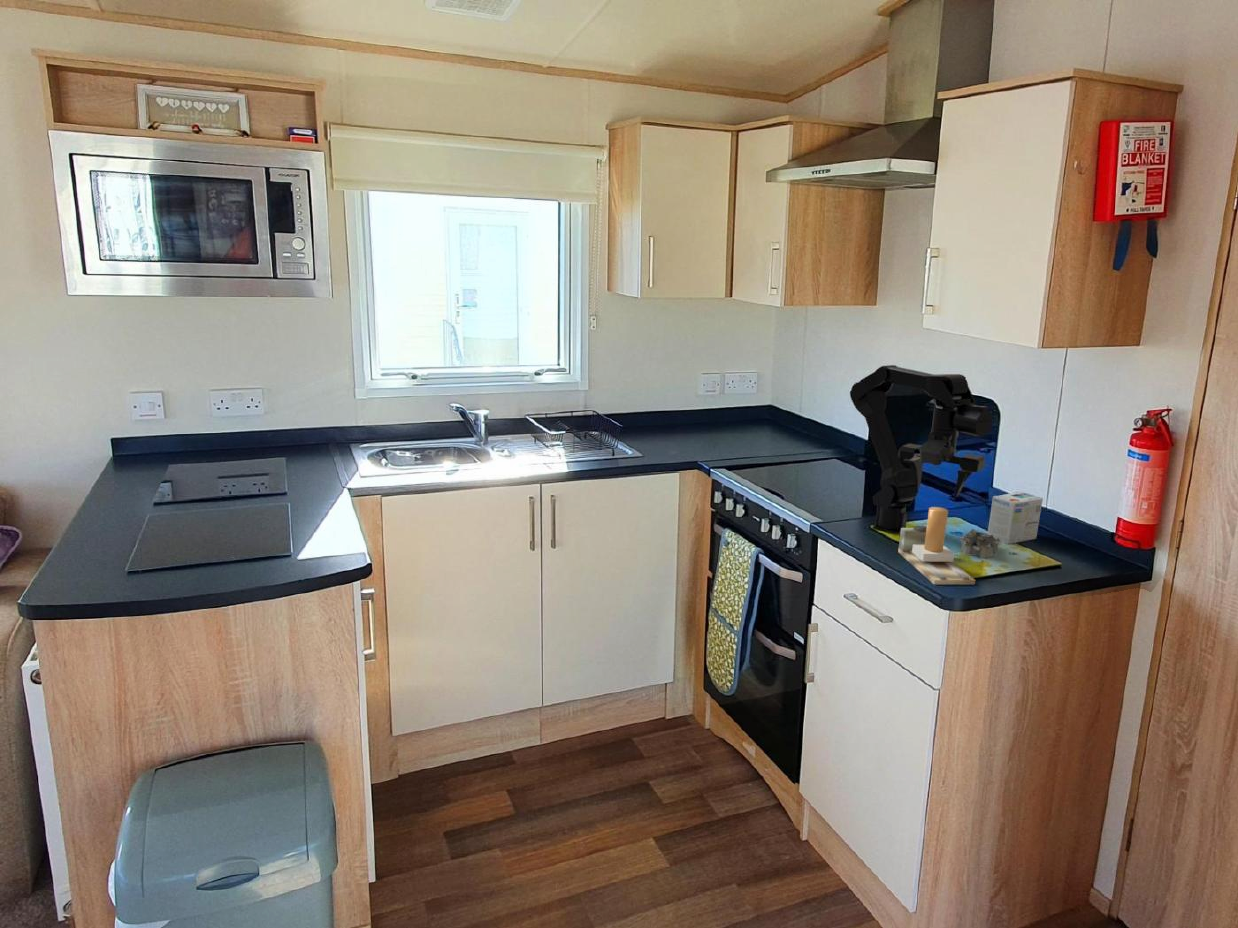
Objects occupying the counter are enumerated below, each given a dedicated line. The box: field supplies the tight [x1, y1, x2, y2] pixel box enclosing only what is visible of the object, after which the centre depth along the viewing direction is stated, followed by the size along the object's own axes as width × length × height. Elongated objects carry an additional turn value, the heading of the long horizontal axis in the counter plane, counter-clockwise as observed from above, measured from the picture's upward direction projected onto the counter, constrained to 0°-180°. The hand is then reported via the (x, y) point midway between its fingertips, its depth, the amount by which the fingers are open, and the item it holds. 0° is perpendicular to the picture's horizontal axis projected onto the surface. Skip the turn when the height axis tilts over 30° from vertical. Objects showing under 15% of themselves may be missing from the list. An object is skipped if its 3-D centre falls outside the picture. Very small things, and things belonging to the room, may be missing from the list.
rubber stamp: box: [912, 506, 955, 562], centre depth 192 cm, size 6×7×11 cm
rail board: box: [897, 525, 976, 585], centre depth 192 cm, size 20×9×6 cm, turn 4°
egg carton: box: [960, 528, 1001, 559], centre depth 204 cm, size 11×8×4 cm
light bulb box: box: [987, 491, 1043, 545], centre depth 213 cm, size 11×7×11 cm, turn 118°
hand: (936, 492), depth 204 cm, fingers open, 9 cm apart
